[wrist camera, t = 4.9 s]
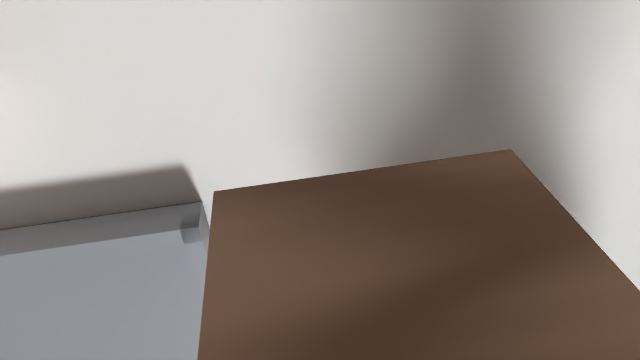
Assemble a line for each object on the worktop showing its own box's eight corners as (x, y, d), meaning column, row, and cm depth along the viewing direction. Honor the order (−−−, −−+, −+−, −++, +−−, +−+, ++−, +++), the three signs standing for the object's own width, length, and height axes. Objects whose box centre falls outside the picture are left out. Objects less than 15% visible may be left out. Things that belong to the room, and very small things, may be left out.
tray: (202, 201, 17) (198, 227, 16) (250, 382, 22) (251, 411, 21) (-110, 245, 16) (-137, 275, 15) (21, 420, 22) (8, 451, 21)
